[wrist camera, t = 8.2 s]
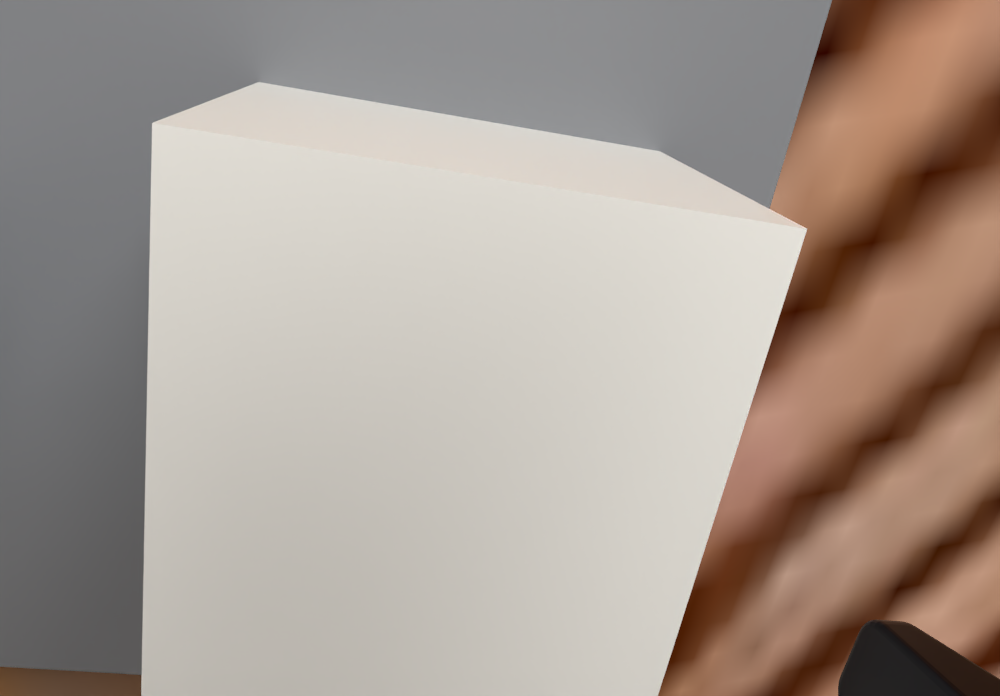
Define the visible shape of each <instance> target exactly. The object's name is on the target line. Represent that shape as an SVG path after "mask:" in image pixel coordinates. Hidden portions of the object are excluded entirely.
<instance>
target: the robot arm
mask: <svg viewBox="0 0 1000 696" xmlns="http://www.w3.org/2000/svg"><path fill="white" fill-rule="evenodd" d="M838 696H1000V679H999V678H997V677H995V676H994V675H992V674H991V673H989V672H987V671H986V670H984V669H983V668H981V667H979V666H978V665H976V664H975V663H973V662H971V661H970V660H968V659H967V658H965V657H963V656H962V655H960V654H958V653H957V652H955V651H954V650H952V649H950V648H949V647H947V646H946V645H944V644H942V643H941V642H939V641H938V640H936V639H934V638H933V637H931V636H930V635H928V634H926V633H925V632H923V631H922V630H920V629H918V628H917V627H915V626H913V625H912V624H909V623H906V622H900V621H888V620H871V621H868V622H867V623H866V624H865V625H864V626H862V628H861V630H860V632H859V634H858V636H857V639H856V641H855V643H854V646H853V648H852V651H851V653H850V655H849V658H848V660H847V662H846V665H845V667H844V670H843V672H842V674H841V677H840V680H839V686H838Z"/></svg>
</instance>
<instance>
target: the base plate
mask: <svg viewBox="0 0 1000 696" xmlns="http://www.w3.org/2000/svg"><path fill="white" fill-rule="evenodd" d="M831 2H832V0H0V667H17V668H34V669H51V670H68V671H85V672H102V673H119V674H135V675H142V627H143V574H144V522H145V469H146V417H147V364H148V312H149V259H150V207H151V154H152V123H153V122H156V121H158V120H161V119H164V118H166V117H169V116H171V115H174V114H177V113H179V112H182V111H184V110H187V109H190V108H192V107H195V106H197V105H200V104H203V103H205V102H208V101H211V100H213V99H216V98H218V97H221V96H224V95H226V94H229V93H231V92H234V91H237V90H239V89H242V88H244V87H247V86H250V85H252V84H255V83H257V82H262V83H268V84H273V85H279V86H285V87H291V88H297V89H302V90H308V91H314V92H320V93H326V94H331V95H337V96H343V97H349V98H354V99H360V100H366V101H372V102H378V103H383V104H389V105H395V106H401V107H407V108H412V109H418V110H424V111H430V112H436V113H441V114H447V115H453V116H459V117H464V118H470V119H476V120H482V121H488V122H493V123H499V124H505V125H511V126H517V127H522V128H528V129H534V130H540V131H546V132H551V133H557V134H563V135H569V136H574V137H580V138H586V139H592V140H598V141H603V142H609V143H615V144H621V145H627V146H632V147H638V148H644V149H650V150H656V151H660V152H662V153H664V154H666V155H668V156H670V157H672V158H674V159H676V160H677V161H679V162H681V163H683V164H685V165H687V166H689V167H691V168H693V169H695V170H696V171H698V172H700V173H702V174H704V175H706V176H708V177H710V178H712V179H714V180H715V181H717V182H719V183H721V184H723V185H725V186H727V187H729V188H731V189H733V190H734V191H736V192H738V193H740V194H742V195H744V196H746V197H748V198H750V199H751V200H753V201H755V202H757V203H759V204H761V205H763V206H765V207H767V208H769V209H770V205H771V202H772V199H773V195H774V192H775V189H776V185H777V182H778V179H779V175H780V172H781V169H782V165H783V162H784V159H785V155H786V152H787V149H788V145H789V142H790V139H791V135H792V132H793V129H794V125H795V122H796V119H797V115H798V112H799V109H800V105H801V102H802V99H803V95H804V92H805V89H806V85H807V82H808V79H809V75H810V72H811V69H812V65H813V62H814V59H815V55H816V52H817V49H818V45H819V42H820V39H821V35H822V32H823V29H824V25H825V22H826V19H827V15H828V12H829V9H830V5H831Z"/></svg>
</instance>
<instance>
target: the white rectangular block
mask: <svg viewBox="0 0 1000 696" xmlns="http://www.w3.org/2000/svg"><path fill="white" fill-rule="evenodd" d="M806 231H807V228H805V227H803V226H801V225H799V224H797V223H795V222H793V221H791V220H789V219H788V218H786V217H784V216H782V215H780V214H778V213H776V212H774V211H772V210H770V209H769V208H767V207H765V206H763V205H761V204H759V203H757V202H755V201H753V200H751V199H750V198H748V197H746V196H744V195H742V194H740V193H738V192H736V191H734V190H733V189H731V188H729V187H727V186H725V185H723V184H721V183H719V182H717V181H715V180H714V179H712V178H710V177H708V176H706V175H704V174H702V173H700V172H698V171H696V170H695V169H693V168H691V167H689V166H687V165H685V164H683V163H681V162H679V161H677V160H676V159H674V158H672V157H670V156H668V155H666V154H664V153H662V152H660V151H656V150H650V149H644V148H638V147H632V146H627V145H621V144H615V143H609V142H603V141H598V140H592V139H586V138H580V137H574V136H569V135H563V134H557V133H551V132H546V131H540V130H534V129H528V128H522V127H517V126H511V125H505V124H499V123H493V122H488V121H482V120H476V119H470V118H464V117H459V116H453V115H447V114H441V113H436V112H430V111H424V110H418V109H412V108H407V107H401V106H395V105H389V104H383V103H378V102H372V101H366V100H360V99H354V98H349V97H343V96H337V95H331V94H326V93H320V92H314V91H308V90H302V89H297V88H291V87H285V86H279V85H273V84H268V83H262V82H257V83H255V84H252V85H250V86H247V87H244V88H242V89H239V90H237V91H234V92H231V93H229V94H226V95H224V96H221V97H218V98H216V99H213V100H211V101H208V102H205V103H203V104H200V105H197V106H195V107H192V108H190V109H187V110H184V111H182V112H179V113H177V114H174V115H171V116H169V117H166V118H164V119H161V120H158V121H156V122H153V123H152V154H151V207H150V259H149V312H148V364H147V417H146V469H145V522H144V574H143V627H142V679H141V696H658V693H659V690H660V687H661V684H662V681H663V678H664V675H665V672H666V668H667V665H668V662H669V659H670V656H671V653H672V650H673V647H674V643H675V640H676V637H677V634H678V631H679V628H680V625H681V622H682V619H683V615H684V612H685V609H686V606H687V603H688V600H689V597H690V594H691V590H692V587H693V584H694V581H695V578H696V575H697V572H698V569H699V565H700V562H701V559H702V556H703V553H704V550H705V547H706V544H707V540H708V537H709V534H710V531H711V528H712V525H713V522H714V519H715V515H716V512H717V509H718V506H719V503H720V500H721V497H722V494H723V490H724V487H725V484H726V481H727V478H728V475H729V472H730V469H731V465H732V462H733V459H734V456H735V453H736V450H737V447H738V444H739V440H740V437H741V434H742V431H743V428H744V425H745V422H746V419H747V415H748V412H749V409H750V406H751V403H752V400H753V397H754V394H755V390H756V387H757V384H758V381H759V378H760V375H761V372H762V369H763V365H764V362H765V359H766V356H767V353H768V350H769V347H770V344H771V340H772V337H773V334H774V331H775V328H776V325H777V322H778V319H779V315H780V312H781V309H782V306H783V303H784V300H785V297H786V294H787V290H788V287H789V284H790V281H791V278H792V275H793V272H794V269H795V265H796V262H797V259H798V256H799V253H800V250H801V247H802V244H803V240H804V237H805V234H806Z"/></svg>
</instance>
